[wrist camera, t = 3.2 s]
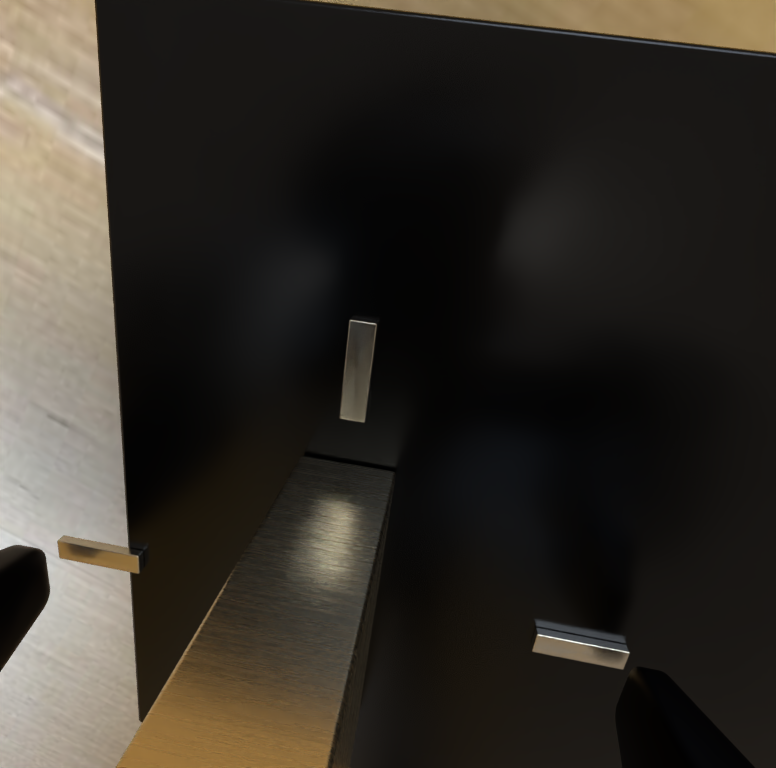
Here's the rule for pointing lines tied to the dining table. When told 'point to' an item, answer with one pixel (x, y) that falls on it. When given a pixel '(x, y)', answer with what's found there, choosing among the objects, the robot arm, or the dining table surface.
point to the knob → (282, 635)
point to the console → (455, 353)
